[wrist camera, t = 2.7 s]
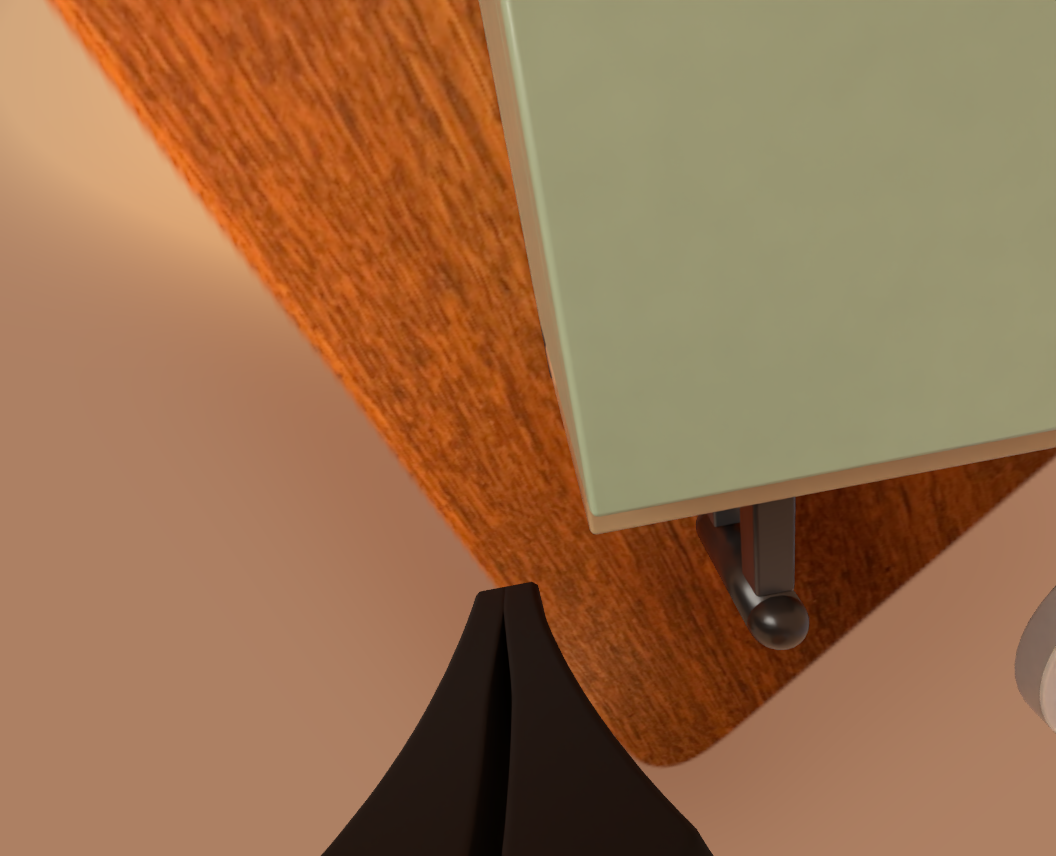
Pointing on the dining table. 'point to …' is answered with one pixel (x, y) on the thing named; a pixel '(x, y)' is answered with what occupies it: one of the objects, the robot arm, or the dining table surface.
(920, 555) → the dining table surface
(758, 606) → the sliding door
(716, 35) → the cupboard
